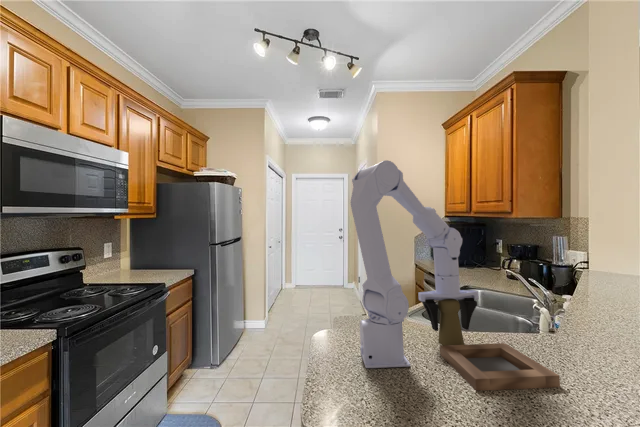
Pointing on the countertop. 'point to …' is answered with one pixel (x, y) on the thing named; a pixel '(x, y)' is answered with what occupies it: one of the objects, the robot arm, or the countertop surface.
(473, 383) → the holder
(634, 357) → the countertop surface
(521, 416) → the countertop surface
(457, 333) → the cork
